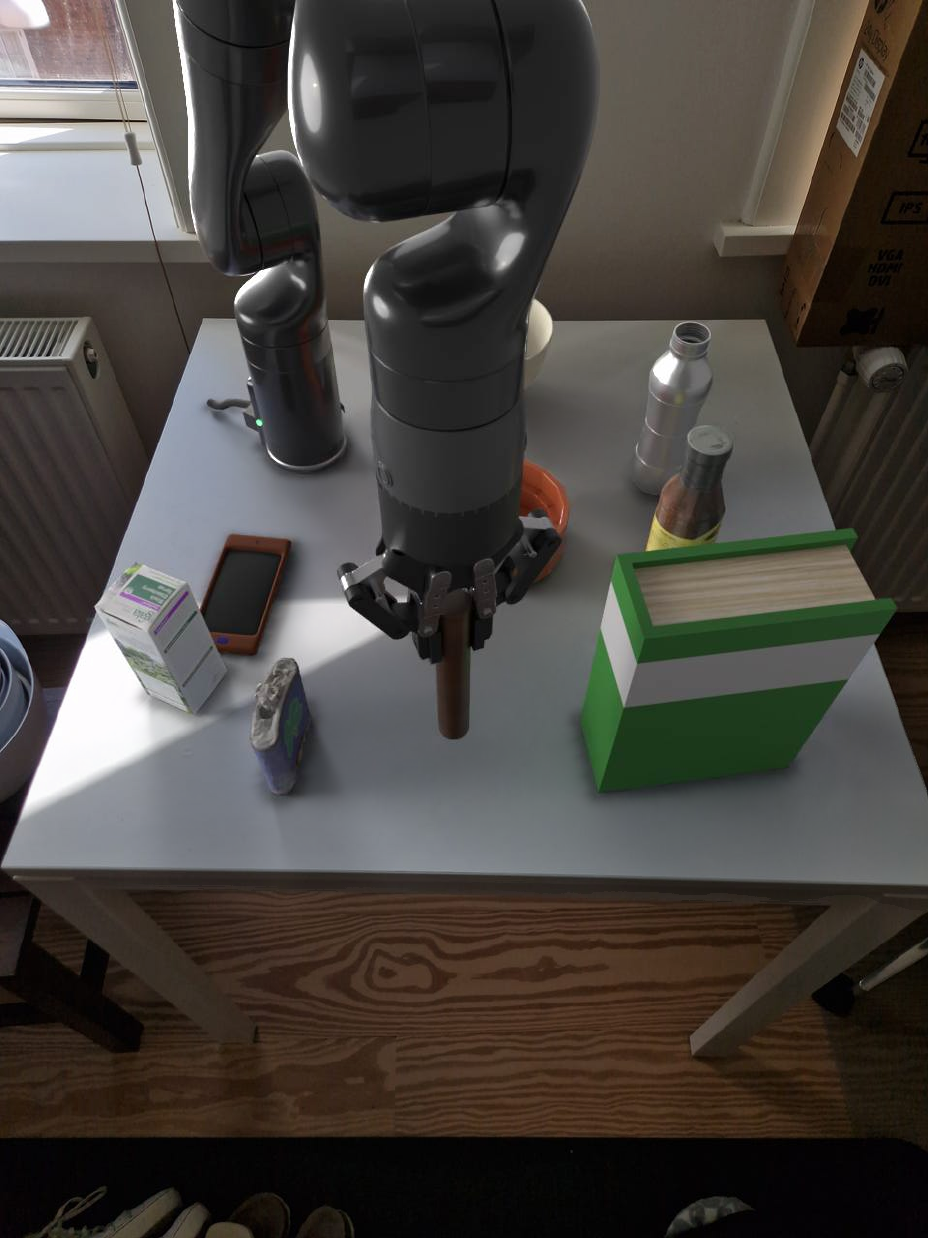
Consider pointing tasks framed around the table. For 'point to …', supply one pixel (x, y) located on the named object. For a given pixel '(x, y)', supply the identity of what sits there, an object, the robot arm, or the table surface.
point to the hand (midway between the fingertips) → (452, 645)
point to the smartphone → (243, 591)
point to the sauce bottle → (693, 493)
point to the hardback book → (724, 656)
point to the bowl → (537, 340)
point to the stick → (454, 666)
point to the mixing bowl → (545, 505)
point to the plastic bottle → (672, 407)
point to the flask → (280, 725)
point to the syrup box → (162, 636)
